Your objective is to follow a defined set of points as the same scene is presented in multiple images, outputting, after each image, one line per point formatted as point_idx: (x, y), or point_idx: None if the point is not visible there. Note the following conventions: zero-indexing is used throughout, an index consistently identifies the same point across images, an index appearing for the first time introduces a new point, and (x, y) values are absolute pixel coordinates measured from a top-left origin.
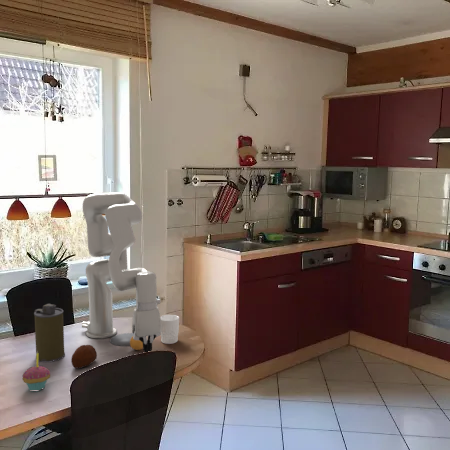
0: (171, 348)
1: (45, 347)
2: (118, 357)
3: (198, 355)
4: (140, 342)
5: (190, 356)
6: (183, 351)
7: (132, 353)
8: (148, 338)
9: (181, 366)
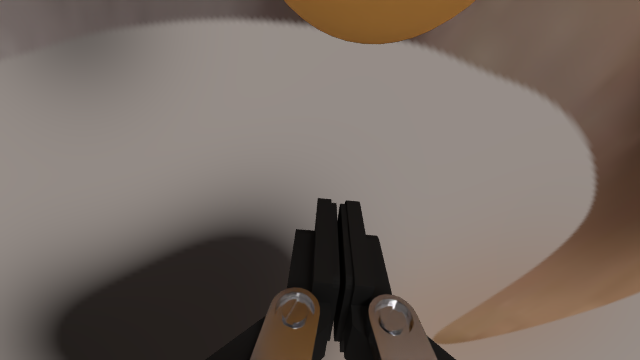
0: (637, 127)
1: None
2: (94, 31)
3: (604, 305)
4: (369, 38)
5: (562, 295)
6: (621, 226)
7: (261, 12)
8: (378, 351)
9: None
